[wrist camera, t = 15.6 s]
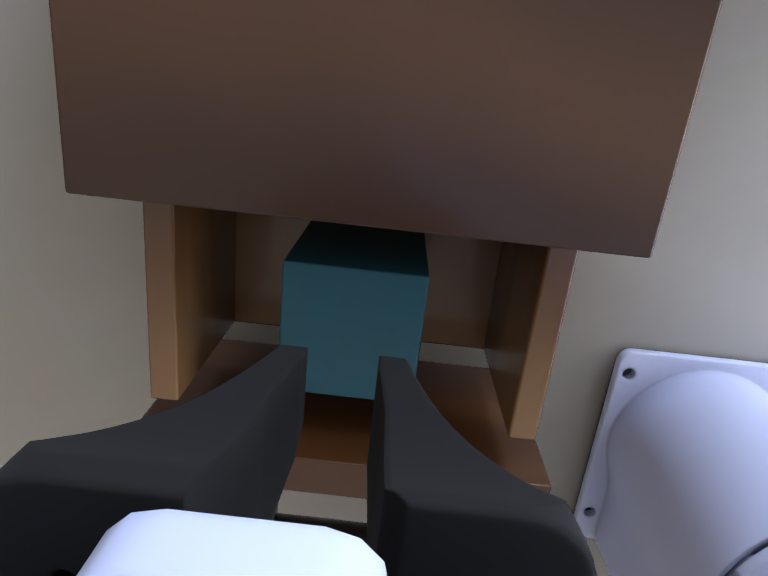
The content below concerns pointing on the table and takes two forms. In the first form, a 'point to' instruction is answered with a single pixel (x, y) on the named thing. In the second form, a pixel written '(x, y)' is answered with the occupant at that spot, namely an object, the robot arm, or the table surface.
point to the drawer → (347, 414)
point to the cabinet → (388, 111)
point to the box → (353, 303)
